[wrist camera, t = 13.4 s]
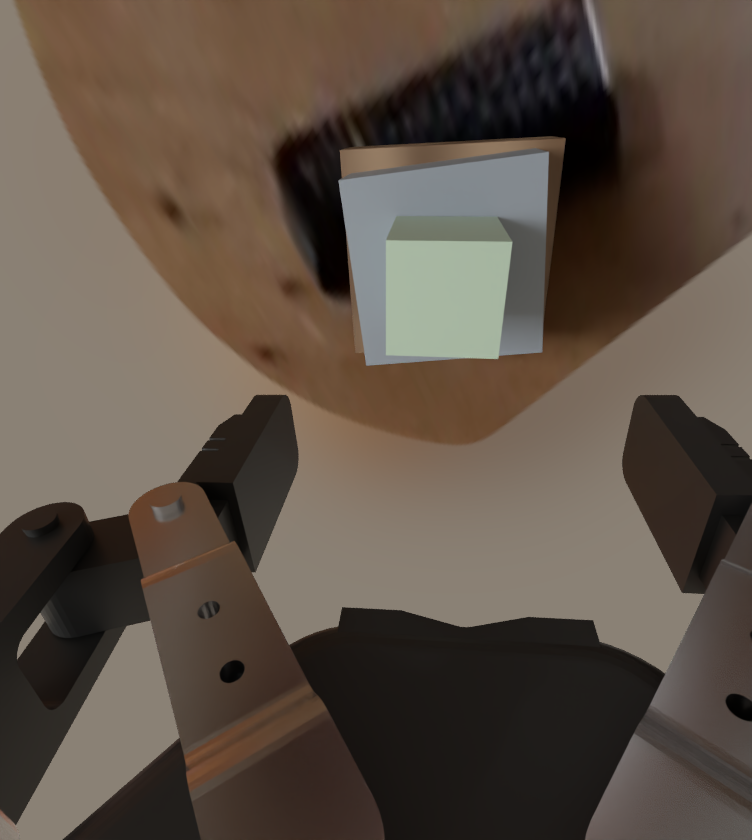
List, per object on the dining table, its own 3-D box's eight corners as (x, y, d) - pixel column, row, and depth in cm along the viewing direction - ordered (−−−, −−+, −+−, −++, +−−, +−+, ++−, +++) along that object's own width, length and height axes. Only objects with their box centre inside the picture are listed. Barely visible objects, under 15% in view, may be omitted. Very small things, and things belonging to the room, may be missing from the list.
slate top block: (535, 148, 27) (548, 151, 24) (531, 327, 32) (542, 352, 28) (350, 173, 29) (338, 180, 25) (374, 340, 33) (366, 365, 30)
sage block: (497, 216, 25) (512, 241, 20) (486, 314, 28) (498, 358, 23) (396, 216, 26) (385, 240, 20) (395, 312, 28) (385, 355, 23)
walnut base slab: (549, 136, 30) (565, 138, 27) (529, 327, 36) (540, 351, 33) (351, 146, 32) (339, 150, 28) (363, 329, 38) (355, 352, 34)
